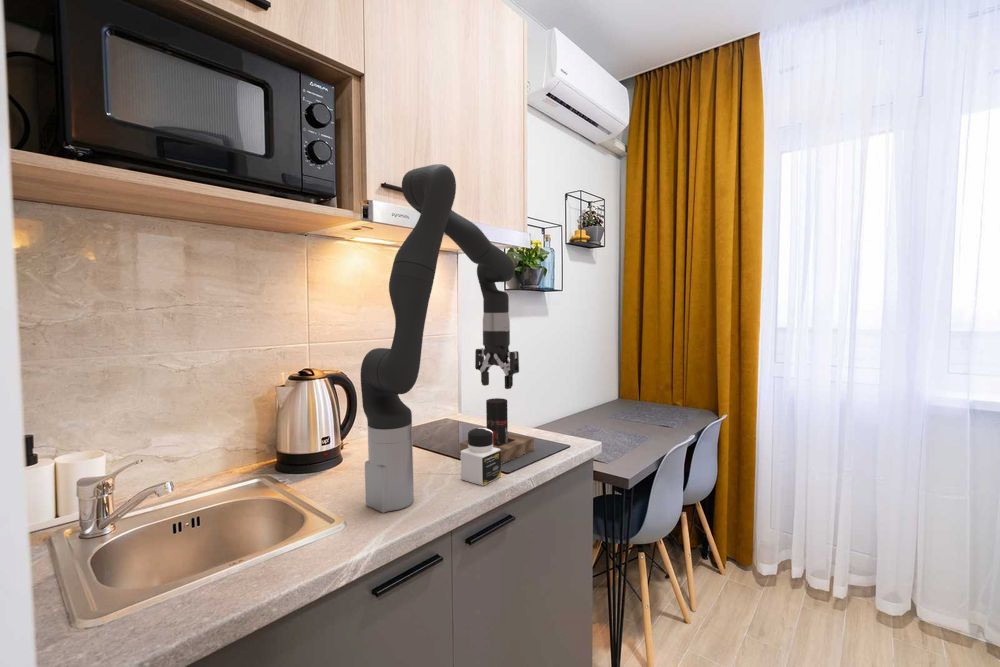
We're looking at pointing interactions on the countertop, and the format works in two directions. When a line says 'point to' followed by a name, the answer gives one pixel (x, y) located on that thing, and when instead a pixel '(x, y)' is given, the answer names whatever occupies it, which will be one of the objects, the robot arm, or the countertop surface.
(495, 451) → the medicine bottle
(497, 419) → the deodorant
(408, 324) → the robot arm
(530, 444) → the frame
